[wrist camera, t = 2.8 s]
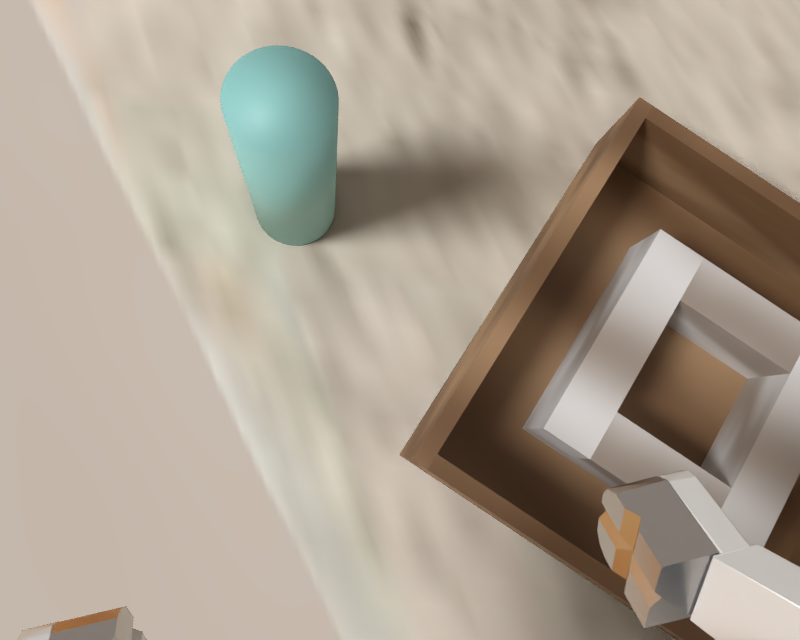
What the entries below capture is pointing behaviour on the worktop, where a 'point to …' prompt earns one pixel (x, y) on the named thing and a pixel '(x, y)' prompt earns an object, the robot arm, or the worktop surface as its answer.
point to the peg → (285, 139)
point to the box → (636, 354)
